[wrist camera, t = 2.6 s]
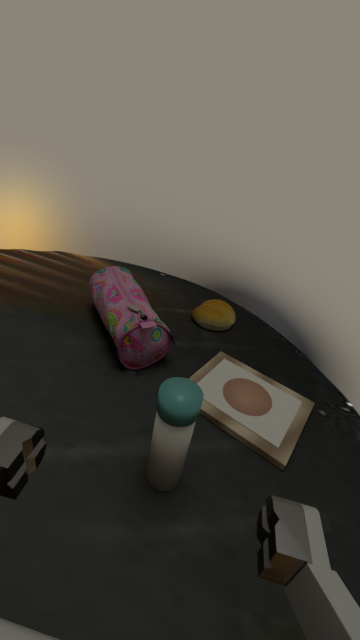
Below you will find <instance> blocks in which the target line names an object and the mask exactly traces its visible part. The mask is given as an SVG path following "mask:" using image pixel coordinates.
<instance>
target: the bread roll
mask: <svg viewBox="0 0 360 640" xmlns="http://www.w3.org/2000/svg"><path fill="white" fill-rule="evenodd" d="M192 318H193V319H194V320H195V322H196V323H197V324H198V325H199V326H200V327H202V328H204V329H207V330H212V331H225V330H228V329H229V328H230V327H231V326H232V325H233V324H234V323H235V313H234V310H233V309H232V308H231V306H230V305H229V304H227V303H225V302H223V301H221V300H215V299H214V300H208V301H205V302H203V303H202V304H201V306H198V307H196V308H195V309H194V310H193V312H192Z"/></svg>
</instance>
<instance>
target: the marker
mask: <svg viewBox="0 0 360 640" xmlns="http://www.w3.org/2000/svg"><path fill="white" fill-rule="evenodd" d="M203 398H204V395H203V391H202V389H201V388H200V387H199V385H197V384H196V383H195V382H193V381H192V380H189V379H187V378H182V377H174V378H170V379H167V380H166V381H164V382H163V383H162V384H161V386H160V389H159V395H158V401H157V407H156V409H157V413H156V419H155V425H154V430H153V436H152V442H151V448H150V454H149V459H148V465H147V471H146V477H147V480H148V482H149V484H150V485H151V486H152V487H153V488H155V489H156V490H159V491H169V490H171V489H173V488H174V487H175V486H176V485H177V484H178V482H179V479H180V476H181V472H182V469H183V465H184V462H185V458H186V455H187V451H188V447H189V444H190V440H191V437H192V433H193V430H194V426H195V422H196V420H197V418H198V416H199V413H200V409H201V406H202V402H203Z"/></svg>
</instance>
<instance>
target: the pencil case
mask: <svg viewBox="0 0 360 640" xmlns="http://www.w3.org/2000/svg"><path fill="white" fill-rule="evenodd" d="M89 289H90V292H91V295H92V297H93V301H94V305H95V307H96V309H97V311H98V313H99V315H100V318H101V319H102V321H103V323H104V325H105V327H106V329H107V330H108V332H109V333H110V334H111V337H112V339H113V341H114V343H115V345H116V347H117V353H118V357H119V360H120V362H121V363H122V364H123V365H124V366H125V367H126V368H128V369H131V370H137V369H142V368H144V367H147V366H149V365H151V364H153V363H155V362H157V361H159V360H160V359H161V358H162V357H163V356H164V355H165V354H166V353H167V352H168V350H169V349H170V347H171V345H172V342H173V344H174V345H176V343H175V340H174V335H173V334H172V332H171V331H170V330H169V328H168V327H167V326H166V325H165V324H164V323H163V322H162V321H161V320H160V319H159V317H158V315H157V314H156V313H155V312H154V311H153V310H152V308H151V307H150V305H149V302H148V300H147V298H146V297H145V295H144V293H143V291H142V289H141V288H140V286H139V285H138V283H137V282H136V281H135V280H134V279H133V277H132V274H131V273H130V271H129V270H127V269H125V268H122V267H116V266H110V267H108V268H105V269H102V270H99V271H97V272H96V273H94V274H93V275H92V277H91V279H90V282H89Z"/></svg>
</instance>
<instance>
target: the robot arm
mask: <svg viewBox="0 0 360 640" xmlns="http://www.w3.org/2000/svg"><path fill="white" fill-rule="evenodd" d="M44 435H45V434H44V429H43V428H40V427H36V426H33V425H29V424H26V423H23V422H19V421H17V420H13V419H10V418H6V417H2V418H0V496H4V497H7V498H11V499H14V500H16V498H17V497H18V495H19V494H20V492H21V491H22V489H23V488H24V486H25V485H26V483H27V482H28V474H29V473H30V472H32V471H34V470H36V469H37V467H38V466H39V464H40V463H41V461H42V459H43V456H44V454H45V450H46V443H45V441H44V440H43V439H42V437H43V436H44ZM257 538H258V540H259V542H260V544H261V548H260V549H259V551H258V552H257V562H258V578H261V579H263V580H266V581H269V582H272V583H275V584H278V585H280V586H283V587H285V591H286V593H287V596H288V598H289V600H290V602H291V605H292V607H293V609H294V611H295V614H296V616H297V618H298V620H299V623H300V625H301V627H302V630H303V632H304V634H305V636H306V639H307V640H360V608H359V607H358V605H357V603H356V602H355V600H354V599H353V597H352V596H351V594H350V593H349V591H348V590H347V588H346V586H345V585H344V583H343V582H342V580H341V579H340V577H339V576H338V574H337V573H336V571H333V570H331V568H330V563H329V558H328V553H327V548H326V543H325V539H324V534H323V529H322V524H321V519H320V514H319V512H318V510H317V509H316V508H315V507H311V506H308V505H304V504H301V503H298V502H295V501H291V500H287V499H284V498H280V497H276V496H273V495H269V496H268V497H267V499H266V506H263V507H262V508H261V510H260V512H259V515H258V520H257ZM0 640H60V639H57V638H54V637H51V636H49V635H46V634H43V633H40V632H38V631H35V630H32V629H29V628H27V627H24V626H21V625H18V624H15V623H13V622H10V621H7V620H4V619H2V618H0Z"/></svg>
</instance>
